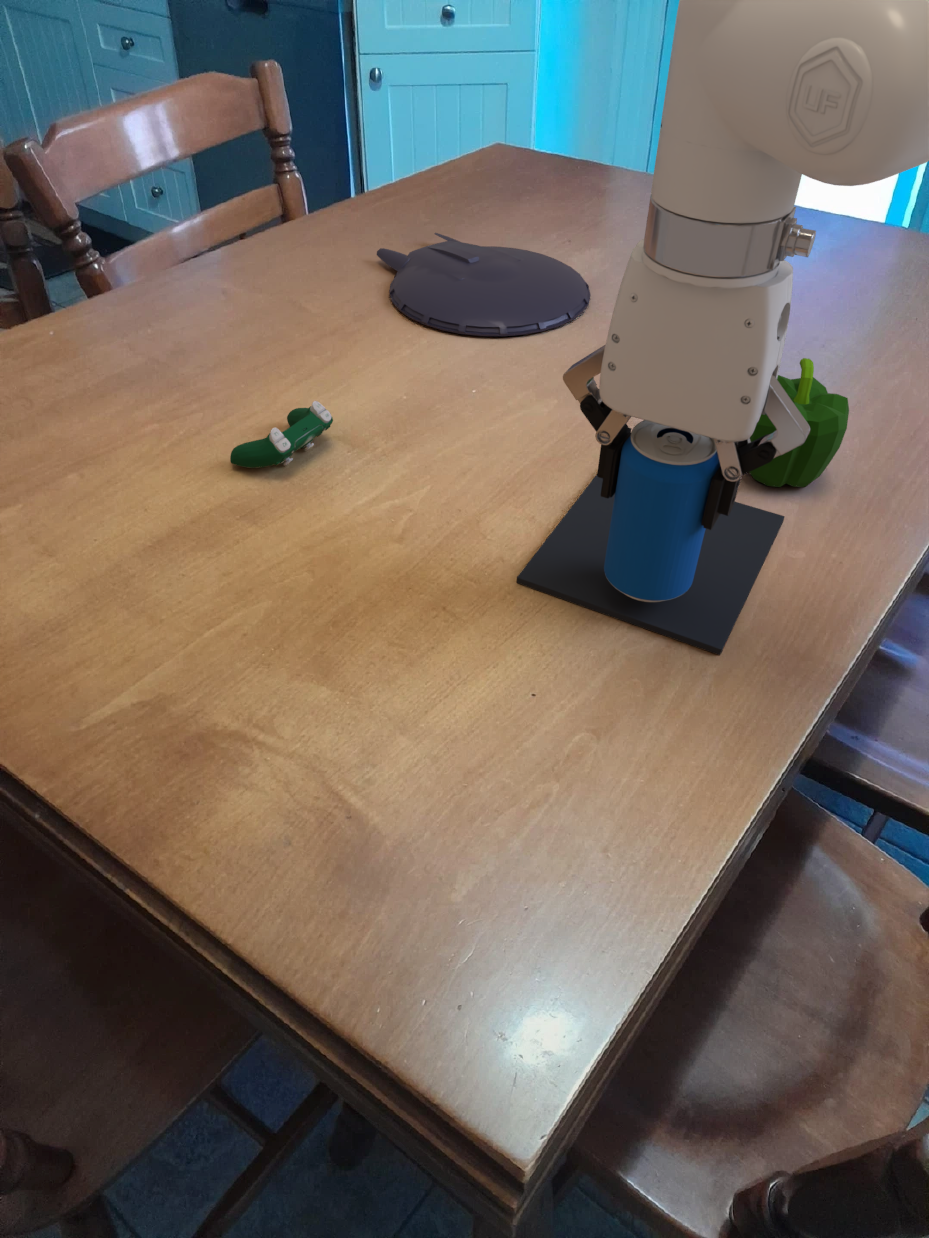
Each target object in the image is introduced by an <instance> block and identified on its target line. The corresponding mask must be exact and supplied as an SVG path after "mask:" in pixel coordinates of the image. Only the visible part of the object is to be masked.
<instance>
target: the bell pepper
mask: <svg viewBox="0 0 929 1238" xmlns="http://www.w3.org/2000/svg"><path fill="white" fill-rule="evenodd" d="M799 366H800V369H801V371H800V377H798V378H788V377H785V376H782V375H780V374H778V378H777V380H778V382H779V383H780V384H781V386H782V387H783V389H784V390H785V392H786V393H787V394H788V396H789V397H790V399H791V400H792V402H793V403H794V404H795V406H796V407H797V409H798V410H799V412H800V413H801V414H802V416H803V417H804V419H805V420H806V421H807V423H808V424H809V426H810V432H809V434H808V436H807V439H806V441H805V442H804V443H803V444H802V445H800V446H798V447H796V448H794V449H793V450H791V451H789V452H787V453H785V454H783V455H779V456H777V457H775V458H773V460H772V461H771V462H769V463H767V464H765V465H763V466H761V467H759V468H757V469H755V470H753V471H750V472H748V473H749V474H750V476H751V477H752V479H754V480H755V481H757V482H759V483H761V484H763V485H765V486H767V487H775V488H781V487H782V486H785V485H788V486H790V487H794V488H806V487H808V486H809V485H810V484H812V482H815V480H817V479H818V478H819V477H820V476H822V474H823V473H824V471H826V469H827V467H828V466H829V465H830V463H831V461H832V460H833V459H834V457H835V455H836V454H837V452H838V451H839V449H840V447H841V445H842V443H843V440H844V437H845V434H846V431H847V429H848V422H849V416H850V415H849V414H850V407H849V398H848V397H846V396H844V395H841V394H838V393H829V392H828V390H827V387H826V386H825V385H824V384H822V383H821V382H820V381H819V380H818V379H816V377H814V372H815V366H814V361H813V360H812V359H811V358H806V357H803V358H801V359H800V361H799ZM774 431H776V427H775V426H774V425H773V423H772V422H771V420H770V419H769V418H768V416H767V415H766V414H765V415H763V414H761V416H760V419H759V421H758V422H757V424H756V427H755V430H754V432H753V434H752V435H751V437H750V441H751V442H752V441H754V440H756V439H758V438H760V437H762V436H764V435H767V434H772V433H773V432H774Z"/></svg>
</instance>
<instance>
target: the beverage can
mask: <svg viewBox="0 0 929 1238" xmlns="http://www.w3.org/2000/svg"><path fill="white" fill-rule="evenodd" d="M719 467H720V462H719V458H718V454H717V450H716V446H715V442H714V439H713V438H709V437H705V436H702V435H698V434H694V433H690V432H687V431H683V430H679V429H675V428H672V427H668V426H664V425H660V424H657V423H653V422H650V421H646V420H641V421H639V422H638V423H637V424H636V425H634V426H633V428H632V429H631V436H630V437H629V438H628V439H627V440H626V441H625V443H624V445H623V447H622V451H621V458H620V464H619V471H618V478H617V484H616V491H615V497H614V504H613V511H612V517H611V524H610V530H609V537H608V544H607V550H606V557H605V563H604V572H605V575H606V578H607V579H608V581H609V582H610V583H611V584H612V585H613V586H614V587H615V588H616V589H617V590H619V591H620V592H622V593H624V594H625V595H627V596H628V597H631V598H633V599H636V600H639V601H644V602H660V601H666V600H670V599H674V598H677V597H679V596H681V595H682V594H684V593H685V592H686V591H687V590H688V589H689V588H690V587H691V585H692V582H693V579H694V574H695V570H696V566H697V562H698V558H699V554H700V550H701V545H702V541H703V537H704V533H705V529H706V528H703V527H704V526H703V525H701V523H702V519H703V515H704V510H705V506H706V502H707V498H708V493H709V489H710V485H711V481H712V478H713V476H714V475H715V473H716V471H717V470H718V469H719Z"/></svg>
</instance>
